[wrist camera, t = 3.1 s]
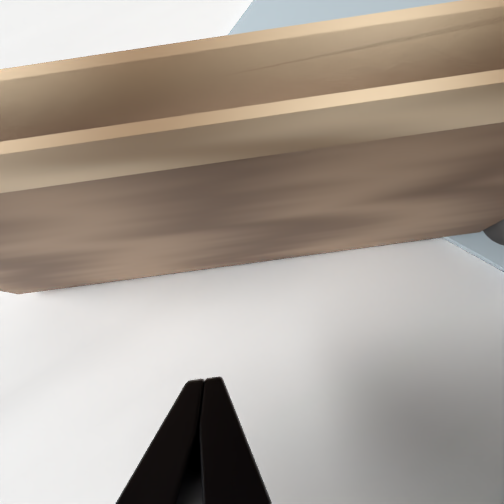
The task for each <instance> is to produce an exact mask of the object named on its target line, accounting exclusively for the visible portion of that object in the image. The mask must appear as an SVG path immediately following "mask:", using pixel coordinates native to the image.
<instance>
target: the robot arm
mask: <svg viewBox="0 0 504 504" xmlns="http://www.w3.org/2000/svg"><path fill="white" fill-rule="evenodd" d="M116 504H272V503H271V500H270V497H269V495H268V492H267V490H266V487H265V485H264V482H263V480H262V477H261V475H260V472H259V470H258V467H257V464H256V462H255V459H254V457H253V454H252V452H251V449H250V447H249V444H248V442H247V439H246V437H245V434H244V432H243V429H242V426H241V424H240V421H239V419H238V416H237V414H236V411H235V409H234V406H233V404H232V401H231V399H230V396H229V393H228V391H227V388H226V386H225V383H224V381H223V379H222V377H212V378H207V379H206V380H204V379H197V380H190V381H188V382H187V383H186V384H185V386H184V387H183V389H182V391H181V393H180V394H179V396H178V398H177V399H176V401H175V403H174V405H173V406H172V408H171V410H170V411H169V413H168V415H167V417H166V418H165V420H164V422H163V423H162V425H161V427H160V428H159V430H158V432H157V434H156V435H155V437H154V439H153V440H152V442H151V444H150V446H149V447H148V449H147V451H146V452H145V454H144V456H143V458H142V459H141V461H140V463H139V464H138V466H137V468H136V470H135V471H134V473H133V475H132V476H131V478H130V480H129V482H128V483H127V485H126V487H125V488H124V490H123V492H122V493H121V495H120V497H119V499H118V500H117V502H116Z"/></svg>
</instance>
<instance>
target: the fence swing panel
mask: <svg viewBox="0 0 504 504" xmlns="http://www.w3.org/2000/svg"><path fill="white" fill-rule="evenodd" d="M503 219H504V0H461V1H454V2H447V3H441V4H434V5H427V6H421V7H414V8H407V9H401V10H394V11H387V12H380V13H374V14H367V15H360V16H354V17H347V18H340V19H334V20H327V21H320V22H314V23H307V24H300V25H293V26H287V27H280V28H273V29H267V30H260V31H253V32H247V33H240V34H233V35H227V36H220V37H213V38H206V39H200V40H193V41H186V42H180V43H173V44H166V45H160V46H153V47H146V48H140V49H133V50H126V51H119V52H113V53H106V54H99V55H93V56H86V57H79V58H73V59H66V60H59V61H53V62H46V63H39V64H32V65H26V66H19V67H12V68H6V69H0V291H4V292H9V293H15V294H24V293H31V292H38V291H46V290H53V289H61V288H68V287H76V286H83V285H91V284H98V283H105V282H113V281H120V280H128V279H135V278H143V277H150V276H157V275H165V274H172V273H180V272H187V271H195V270H202V269H209V268H217V267H224V266H232V265H239V264H247V263H254V262H262V261H269V260H276V259H284V258H291V257H299V256H306V255H314V254H321V253H328V252H336V251H343V250H351V249H358V248H366V247H373V246H380V245H388V244H395V243H403V242H410V241H418V240H425V239H432V238H440V237H447V236H455V235H462V234H470V233H477V232H481V231H483V230H484V229H486V228H488V227H490V226H492V225H494V224H496V223H497V222H499V221H501V220H503Z"/></svg>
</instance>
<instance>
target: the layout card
mask: <svg viewBox="0 0 504 504" xmlns="http://www.w3.org/2000/svg"><path fill="white" fill-rule="evenodd" d="M454 1H461V0H253V2H252V3H251V4H250V6H249V7H248V9H247V10H246V11H245V13H244V14H243V15H242V17H241V18H240V19H239V21H238V22H237V23H236V25H235V26H234V27H233V29H232V30H231V31H230V33H229V34H228V35H233V34H240V33H247V32H253V31H260V30H267V29H273V28H280V27H287V26H293V25H300V24H307V23H314V22H320V21H327V20H334V19H340V18H347V17H354V16H360V15H367V14H374V13H380V12H387V11H394V10H401V9H407V8H414V7H421V6H427V5H434V4H441V3H447V2H454ZM442 238H444V239H446V240H448V241H450V242H451V243H453V244H455V245H457V246H459V247H460V248H462V249H464V250H466V251H467V252H469V253H471V254H473V255H475V256H476V257H478V258H480V259H482V260H484V261H485V262H487V263H489V264H491V265H493V266H494V267H496V268H498V269H500V270H501V271H503V272H504V245H500V244H498V243H496V242H494V241H492V240H491V239H490V238H488V237H487V236H486V235H485V233H484V232H483V231H481V232H477V233H470V234H462V235H455V236H447V237H442Z"/></svg>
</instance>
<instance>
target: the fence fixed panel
mask: <svg viewBox="0 0 504 504" xmlns="http://www.w3.org/2000/svg"><path fill="white" fill-rule="evenodd" d="M483 232H484V233H485V235H486V236H487V237H488V238H490V239H491V240H492V241H494V242H496V243H498V244H500V245H504V219H503V220H501V221H499V222H497V223H496V224H494V225H492V226H490V227H488V228H486V229H484V230H483Z"/></svg>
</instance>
